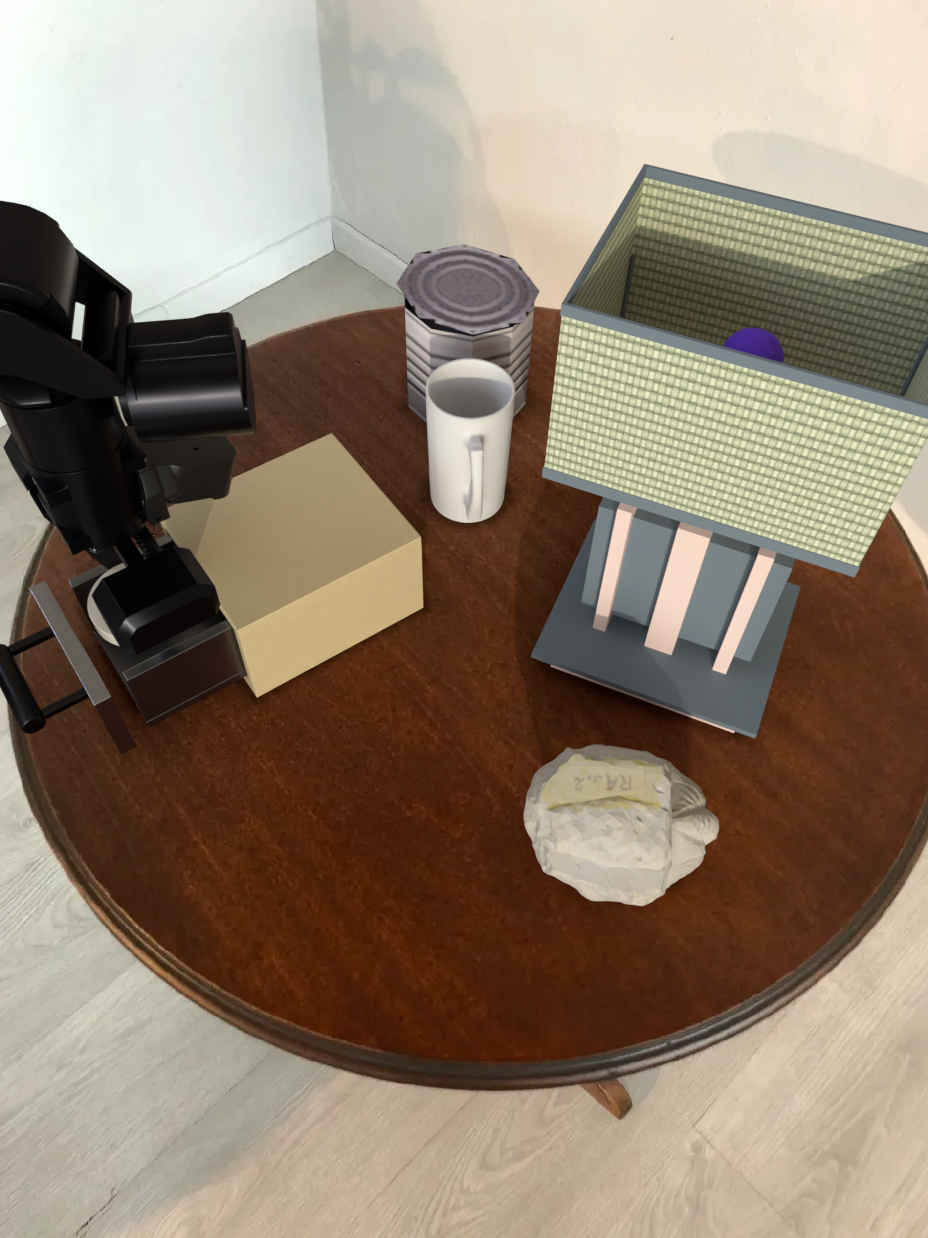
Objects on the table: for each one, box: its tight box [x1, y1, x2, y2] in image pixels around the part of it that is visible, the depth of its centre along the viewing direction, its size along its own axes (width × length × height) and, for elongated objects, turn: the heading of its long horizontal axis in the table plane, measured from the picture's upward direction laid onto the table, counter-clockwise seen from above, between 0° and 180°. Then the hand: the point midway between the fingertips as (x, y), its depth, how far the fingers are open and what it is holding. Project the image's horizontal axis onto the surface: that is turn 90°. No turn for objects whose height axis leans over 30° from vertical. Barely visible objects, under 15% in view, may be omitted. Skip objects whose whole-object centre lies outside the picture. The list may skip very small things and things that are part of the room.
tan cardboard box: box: [159, 432, 424, 698], centre depth 76 cm, size 15×13×9 cm
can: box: [395, 243, 540, 424], centre depth 89 cm, size 11×11×12 cm
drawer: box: [0, 533, 248, 755], centre depth 72 cm, size 18×11×7 cm, turn 125°
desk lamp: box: [530, 163, 928, 739], centre depth 65 cm, size 18×14×33 cm
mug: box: [426, 358, 515, 524], centre depth 80 cm, size 10×7×12 cm, turn 5°
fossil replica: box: [523, 743, 720, 907], centre depth 65 cm, size 12×8×10 cm
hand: (140, 602), depth 69 cm, fingers closed on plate, 7 cm apart
